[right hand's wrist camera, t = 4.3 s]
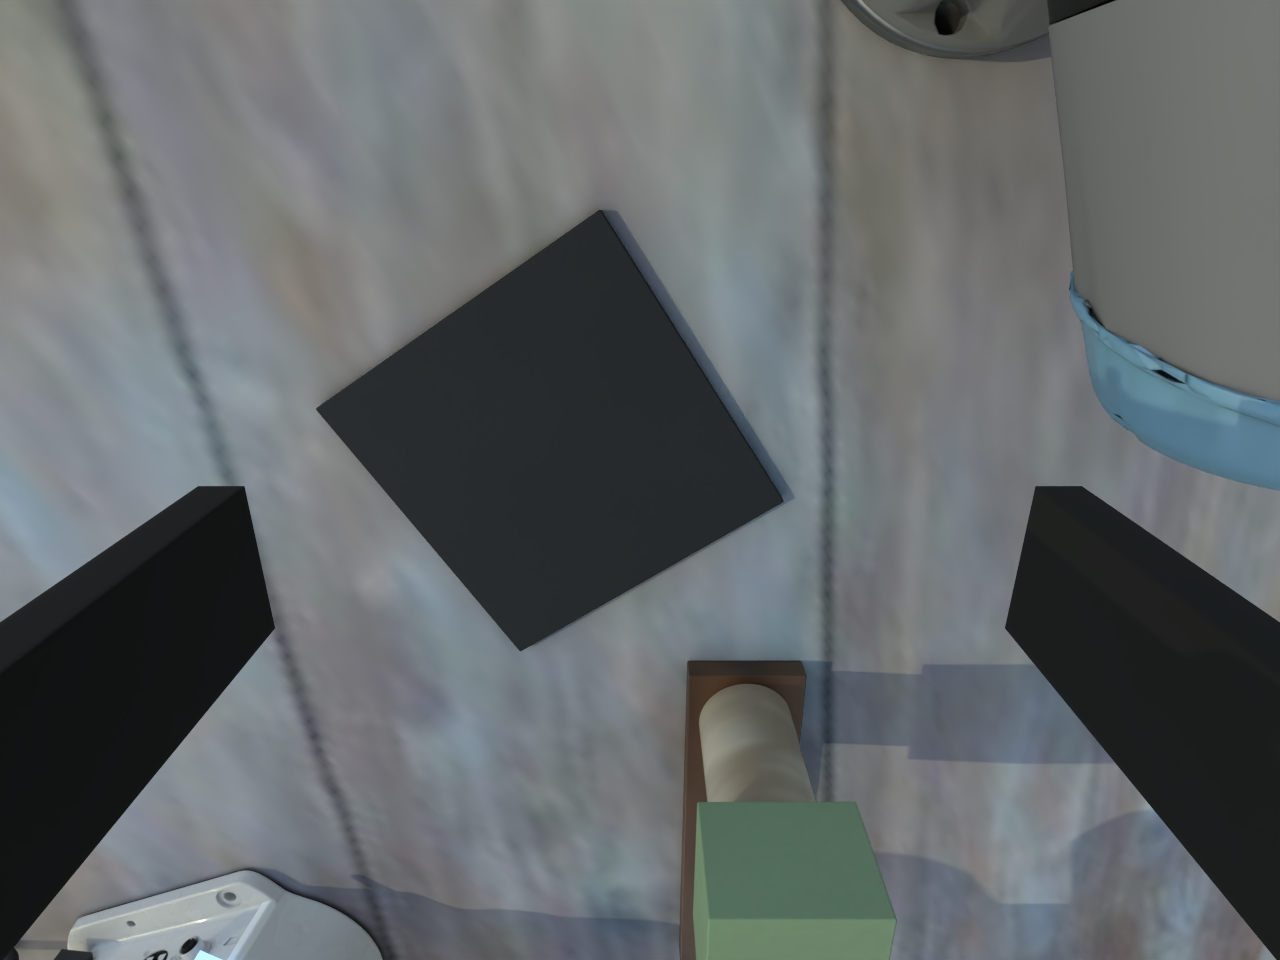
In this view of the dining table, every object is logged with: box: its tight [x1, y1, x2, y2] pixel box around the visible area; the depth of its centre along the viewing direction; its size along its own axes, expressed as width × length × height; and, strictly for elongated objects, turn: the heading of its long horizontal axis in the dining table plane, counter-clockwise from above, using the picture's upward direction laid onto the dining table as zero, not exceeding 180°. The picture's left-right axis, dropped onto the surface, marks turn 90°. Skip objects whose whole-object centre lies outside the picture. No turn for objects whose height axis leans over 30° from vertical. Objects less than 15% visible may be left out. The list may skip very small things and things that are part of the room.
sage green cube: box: [693, 802, 897, 960], centre depth 33 cm, size 7×7×6 cm
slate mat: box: [316, 210, 783, 651], centre depth 40 cm, size 18×18×1 cm
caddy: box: [679, 661, 816, 960], centre depth 45 cm, size 7×25×12 cm, turn 0°
